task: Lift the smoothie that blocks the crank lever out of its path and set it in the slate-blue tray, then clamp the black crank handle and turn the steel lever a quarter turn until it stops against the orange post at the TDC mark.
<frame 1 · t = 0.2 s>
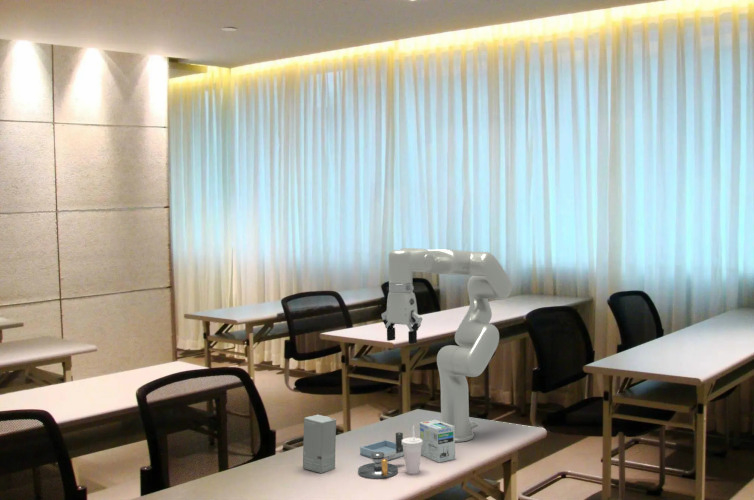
hand: (401, 341, 259), 36 cm above the table, tool pointing down, fingers open, 9 cm apart
light bulb box: (437, 457, 256), on the table
tray: (384, 454, 260), on the table
smoothie: (412, 472, 242), on the table
crank: (387, 447, 245), point 7 cm above the table, hinge at 90.0°
crank base: (378, 472, 243), on the table
skincare box: (320, 469, 248), on the table
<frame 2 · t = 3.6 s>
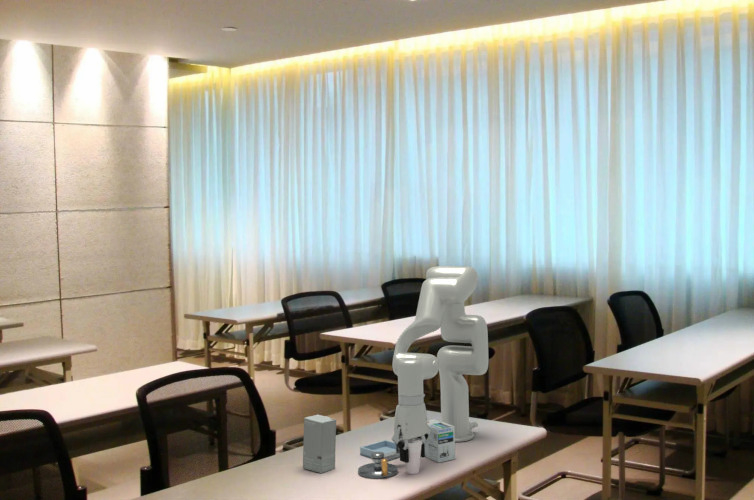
hand: (412, 458, 242), 4 cm above the table, tool pointing down, fingers closed on smoothie, 6 cm apart
smoothie: (412, 472, 242), on the table, touching gripper
everything else where it was.
when the fingers open (5 cm above the table, at t = 9.7 s): smoothie stays where it is, resting on tray.
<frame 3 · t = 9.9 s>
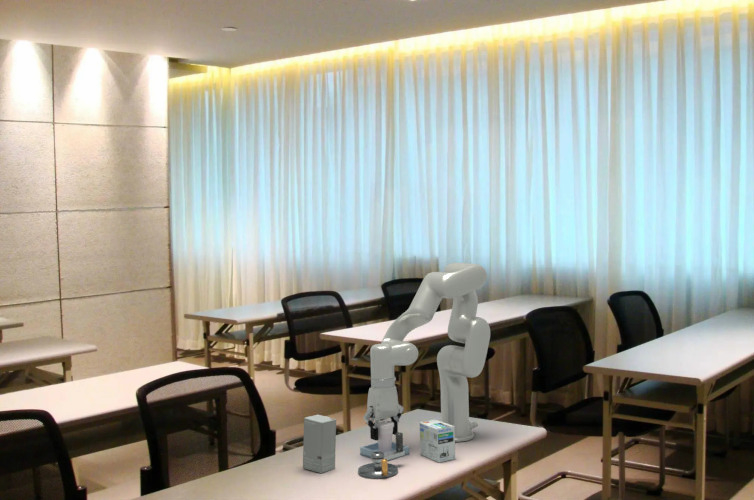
hand: (384, 436, 259), 6 cm above the table, tool pointing down, fingers open, 7 cm apart
smoothie: (385, 453, 260), resting on tray
everything else where it was.
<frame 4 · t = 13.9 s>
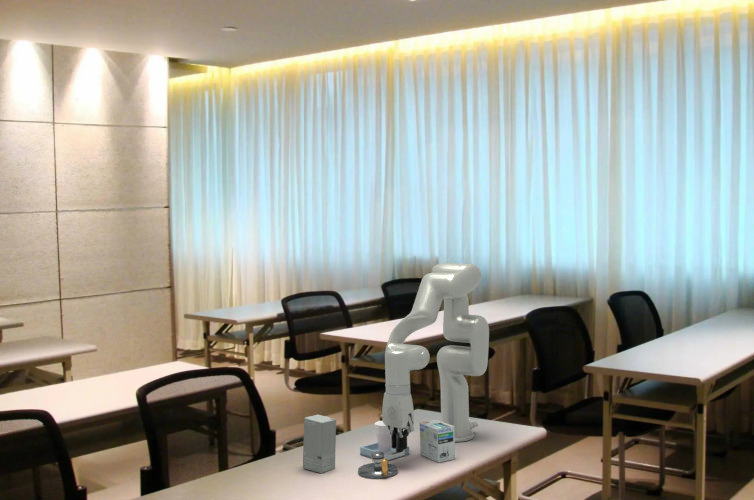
hand: (399, 447, 248), 5 cm above the table, tool pointing down, fingers closed on crank, 2 cm apart
crank: (387, 447, 245), point 7 cm above the table, hinge at 90.0°, touching gripper
everything else where it was.
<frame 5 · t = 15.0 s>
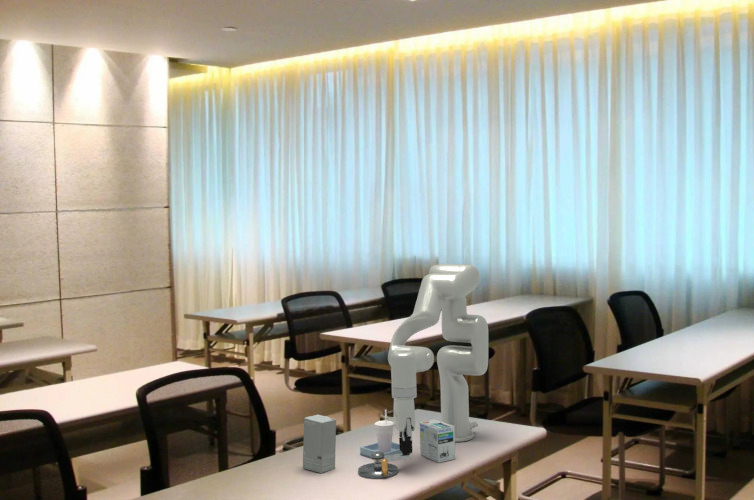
hand: (405, 451, 245), 5 cm above the table, tool pointing down, fingers closed, pressing on crank
crank: (390, 449, 243), point 7 cm above the table, hinge at 64.2°, touching gripper
everything else where it was.
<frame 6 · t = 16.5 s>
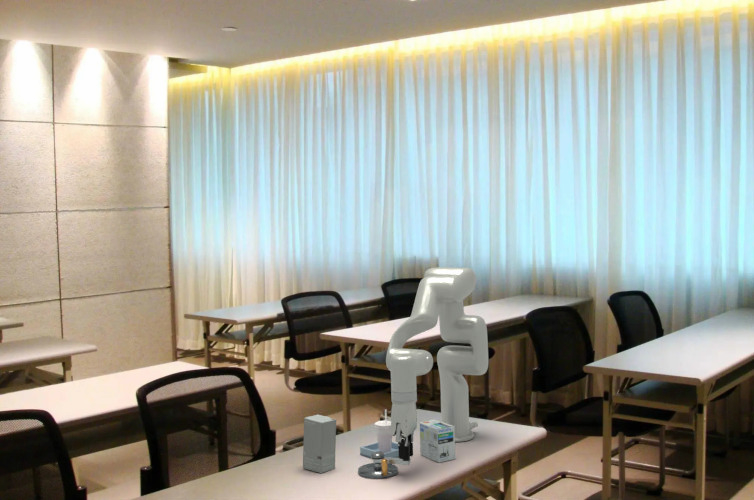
hand: (406, 456, 239), 5 cm above the table, tool pointing down, fingers closed, pressing on crank
crank: (390, 451, 241), point 7 cm above the table, hinge at 29.7°, touching gripper
everything else where it was.
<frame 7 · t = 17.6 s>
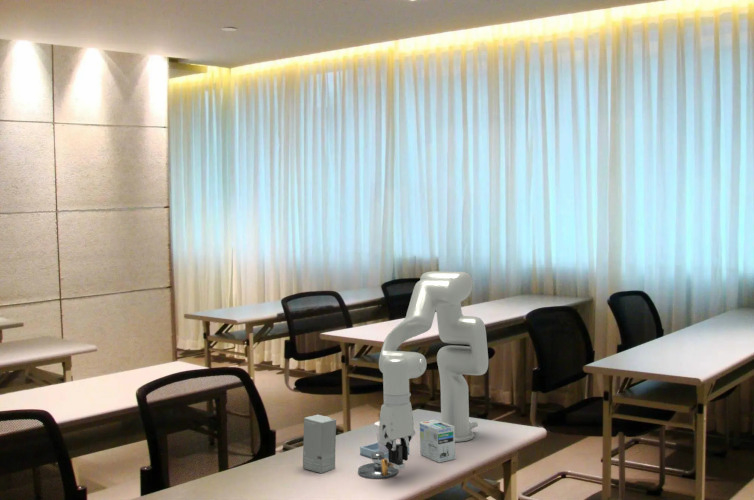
hand: (398, 460, 236), 6 cm above the table, tool pointing down, fingers open, 3 cm apart
crank: (387, 453, 239), point 7 cm above the table, hinge at 3.6°
everything else where it was.
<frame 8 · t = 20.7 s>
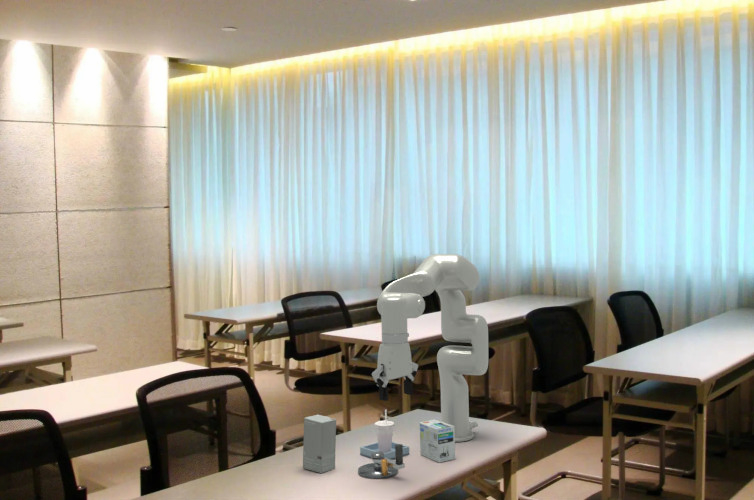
hand: (396, 397, 235), 24 cm above the table, tool pointing down, fingers open, 9 cm apart
nothing on the table moved.
at the end: crank at +4° (first picture: +90°); smoothie inside the target area on the tray (0.1 cm from its centre), point 0.4 cm above the tray's base; smoothie tilted 0° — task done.
